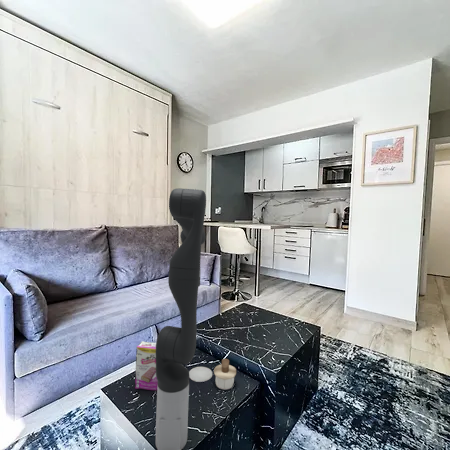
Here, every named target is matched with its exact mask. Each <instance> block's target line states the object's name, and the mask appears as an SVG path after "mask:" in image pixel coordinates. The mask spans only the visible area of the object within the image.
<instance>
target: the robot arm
mask: <svg viewBox="0 0 450 450" xmlns="http://www.w3.org/2000/svg"><path fill="white" fill-rule="evenodd" d="M168 199H169V200H168V210H169V213H170V215H171V217H172V218H173V219H174V221H176V223H177V224H178V225H179V226H180V227H181V232H180V241H181V244H180V246H179V247H177V249H176V251H175V252H174V253H173V255H172V256H171V259H170V260H169V269H168V281H167V282H168V287H169V290H170V293H171V295H172V296H173V299H174V301H175V304H176V305H177V308H178V311H179V313H180V314H179V316H180V322H181V323H180V327H179V326H172V325H166V326H164V327H162V328H161V330H160V331H159V333H158V335H157V338H156V341H155V343H156V378H157V380H158V385H157V391H156V413H155V415H156V416H155V417H156V418H155V447H156V449H157V450H182V449H184V448H185V446H186V445H187V442H188V428H189V427H188V425H189V424H188V423H189V422H188V421H189V418H188V417H189V396H190V394H189V393H190V378H189V372H190V370H188V368H187V367H186V366H185V365H188V364H190V363H191V362H192V361H193V359H194V357H195V352H196V347H197V337H198V336H197V326H198V324H197V323H198V322H197V321H198V320H197V309H198V307H197V306H198V295H199V294H198V293H199V287H200V286H201V270H202V269H201V259H202V257H201V256H202V245H203V244H204V243H205V241H206V233H205V230H204V223H205V216H206V215H205V214H206V207H207V195H206V191H204V190H202V189H196V188H195V189H193V188H181V187H180V188H179V187H178V188H173V189H172V190H171V192H170V194H169V198H168Z"/></svg>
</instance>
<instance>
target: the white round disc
mask: <svg viewBox="0 0 450 450" xmlns="http://www.w3.org/2000/svg"><path fill="white" fill-rule="evenodd" d="M212 377H213V371H212V370H211V369H210V368H209V367H206V366H196V367H193V368H192V369H189V380H192V381H193V382H197V383H201V382H202V383H203V382H207V381H209V380H210V379H211V378H212Z"/></svg>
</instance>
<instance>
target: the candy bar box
mask: <svg viewBox="0 0 450 450" xmlns="http://www.w3.org/2000/svg"><path fill="white" fill-rule="evenodd" d="M135 351H136V355H135V374H134V375H135V376H134V389H137V390H145V391H154V392H155V391H156V392H157V385H158V380H157V378H156V342H151V341H141V342H140V343H139V344H138V345H136V349H135Z"/></svg>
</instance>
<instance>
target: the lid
mask: <svg viewBox="0 0 450 450" xmlns="http://www.w3.org/2000/svg"><path fill="white" fill-rule="evenodd" d="M213 374H214V376H215V378H216V377H218V378H220V379H224V380H227V379H232V378H234V379H235V377H236V375H237V368H236V367H235V366H233V365H231V364H230V360H229V359H228V358H223V359H221V364H218V365H216V366H215V367H214V369H213Z"/></svg>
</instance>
